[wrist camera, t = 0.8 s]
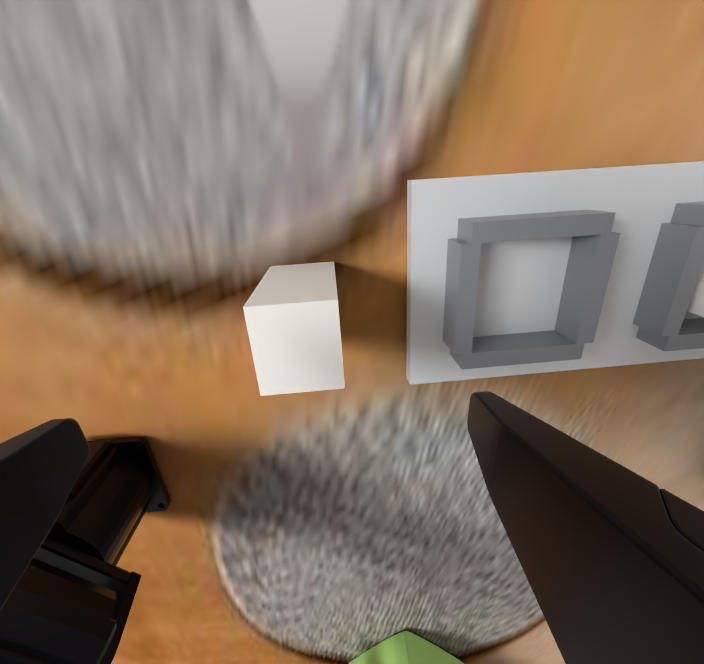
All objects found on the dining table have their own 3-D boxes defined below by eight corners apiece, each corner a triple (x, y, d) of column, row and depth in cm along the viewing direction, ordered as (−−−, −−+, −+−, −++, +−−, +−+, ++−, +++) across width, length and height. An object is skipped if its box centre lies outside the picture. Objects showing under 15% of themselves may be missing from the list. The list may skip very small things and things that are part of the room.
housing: (747, 346, 24) (934, 418, 16) (406, 376, 23) (444, 467, 15) (834, 152, 19) (1152, 132, 12) (407, 180, 18) (463, 177, 11)
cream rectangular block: (339, 326, 21) (344, 388, 15) (280, 331, 21) (260, 395, 15) (333, 261, 19) (337, 299, 13) (270, 266, 19) (243, 307, 13)
